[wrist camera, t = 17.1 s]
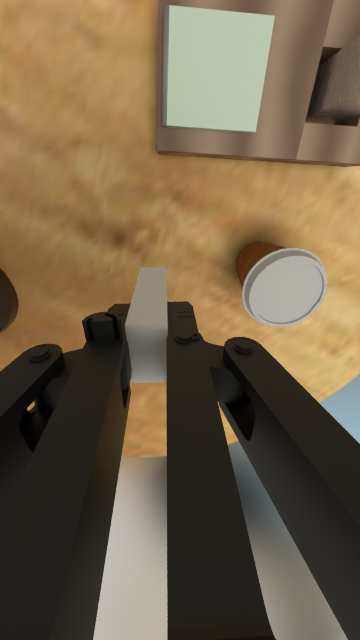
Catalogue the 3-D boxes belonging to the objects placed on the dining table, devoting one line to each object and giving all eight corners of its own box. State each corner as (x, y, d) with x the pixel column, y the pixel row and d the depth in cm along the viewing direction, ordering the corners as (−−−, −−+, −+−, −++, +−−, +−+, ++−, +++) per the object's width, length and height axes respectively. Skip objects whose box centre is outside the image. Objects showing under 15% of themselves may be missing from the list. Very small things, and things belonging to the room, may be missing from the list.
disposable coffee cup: (231, 227, 35) (255, 247, 25) (296, 232, 36) (346, 254, 26) (220, 289, 40) (237, 328, 30) (278, 293, 41) (314, 332, 30)
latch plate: (162, 126, 26) (161, 124, 25) (163, 11, 22) (163, 4, 21) (253, 133, 26) (255, 131, 25) (270, 22, 22) (275, 15, 21)
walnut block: (159, 154, 31) (156, 150, 27) (161, 11, 25) (158, -24, 21) (346, 166, 32) (373, 164, 28) (389, 32, 26) (433, 3, 22)
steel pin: (293, 123, 30) (376, 85, 18) (303, 78, 28) (404, 0, 16) (326, 126, 30) (430, 89, 18) (338, 81, 28) (465, 6, 16)
